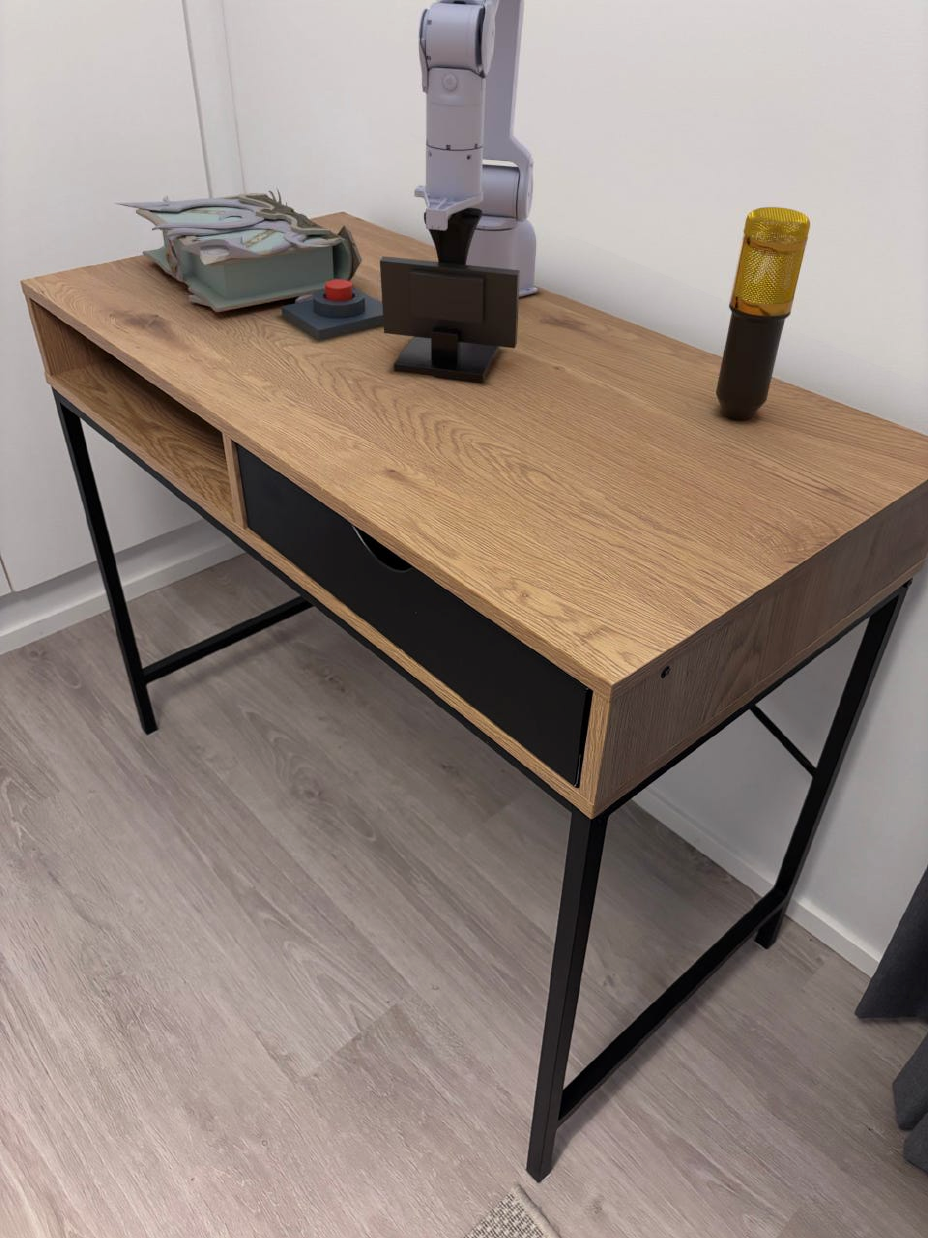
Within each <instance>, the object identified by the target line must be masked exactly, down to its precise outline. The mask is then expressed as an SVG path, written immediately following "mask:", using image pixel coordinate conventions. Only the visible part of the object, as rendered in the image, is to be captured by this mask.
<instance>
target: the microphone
mask: <svg viewBox="0 0 928 1238" xmlns="http://www.w3.org/2000/svg"><path fill="white" fill-rule="evenodd" d="M810 228H811V220H810V218H809V217H808V215H806V214H805V213H803V212H801V211H798V210H796V209H791V208H787V207H779V206H778V207H777V206H764V207H758V208H755V209H753V210H751V211H750V212H749V213H748V214H747V216H746V219H745V224H744V229H743V231H742V236H741V241H740V247H739V252H738V257H737V263H736V267H735V272H734V278H733V282H732V283H733V284H732V288H731V293H730V298H729V303H728V309H729V310H730V311H731V313H730V318H729V324H728V328H727V334H726V339H725V344H724V349H723V353H722V359H721V365H720V370H719V373H718V374H719V375H718V380H717V384H716V391H715V395H716V398H717V400H718V403H719V405H720V408H721V410H722V413H723V415H724V416H725V417H727V418H729V419H731V420H734V421H747V420H749V419H750V418H751V417H753V415H755V413H756V412H758V410H759V409H760V408H761V407H762V406H763V405H764V404H766V402H767V399H768V395H769V391H770V386H771V383H772V378H773V373H774V369H775V365H776V360H777V356H778V351H779V347H780V343H781V340H782V339H781V338H782V335H783V330H784V325H785V321H786V319H787V318H788V317H790V315H791V313H792V309H793V305H794V300H795V294H796V290H797V286H798V280H799V276H800V272H801V269H802V263H803V260H804V256H805V250H806V247H807V244H808V239H809V233H810Z"/></svg>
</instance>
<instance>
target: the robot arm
mask: <svg viewBox="0 0 928 1238" xmlns="http://www.w3.org/2000/svg"><path fill="white" fill-rule="evenodd" d="M524 10H525V0H436V2H432V3H431V5H430V8H429V9H428V8H424V9H423V10H422V11H421V15H420V19H419V26H418V58H419V63H420V71H421V87H422V92H423V93H424V94H425V185H417V186H416V187H415V188H414V190H413V191H414V195H413V197H415V198H421V199H423V200H424V203H425V207H426V208H425V211H424V213H423V220H424V224H425V229H426V230H428V232H429V234H430V236H431V239H432V241H433V245H434V248H435V252H436V257H437V262H444V263H453V264H463V265H473V266H482V267H492V268H502V269H511V270H520V282H519V298H521V297H525V296H529V295H532V294H536V293H538V288H537V287H535V286H534V285H535V272H536V270H535V269H536V258H537V257H536V256H537V236H536V231H535V228H534V227H533V225H532V223H531V222H530V220H528V218H529V217H530V213H531V209H532V202H533V193H534V159H533V156H532V153H531V151H530V150H529V149H528V147H526V146H525V145H523V143H521V142H520V141H519V139H518V138H517V137H516V136H515V134H514V128H515V118H516V117H515V116H516V105H517V92H518V80H519V70H520V58H521V46H522V34H523V22H524V12H525V11H524ZM483 160H486V161H496V162H497V161H499V162H510V163H513V164H515V166H514V165H513V166H512V165H499V164H486V163H483Z"/></svg>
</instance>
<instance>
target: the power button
mask: <svg viewBox="0 0 928 1238" xmlns="http://www.w3.org/2000/svg"><path fill="white" fill-rule="evenodd" d="M352 288H353V283H352V282H351V280H350V281H347V280H342V279H335V280H330V281H327V282H326V283H325V296H326V299H327V300H330V301H347V300H351V299H352Z"/></svg>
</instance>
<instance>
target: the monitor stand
mask: <svg viewBox="0 0 928 1238" xmlns="http://www.w3.org/2000/svg"><path fill="white" fill-rule="evenodd" d="M500 351H501V347H498V346H490V345H481V344H472V343H464V342H461V330H455V329H446V328H437V327H434V329H433V330H432V332H431V339H430V338H421V337H413V336H412V338H411V340H410V341H409V343H408V344H407V345H406V346H405V348H404V349H403V351H402V352H401V353H400V355H399V356H398V357H397V359H396V360H395V362H394V363H393V372H398V373H404V374H413V375H421V376H429V377H430V376H431V377H434V378H437V379H439V378H440V379H447V380H455V381H463V382H471V383H479V384H480V383H481V384H484V382H485V380H486V378H487V376H488V374H489V372H490V370H491V368H492V367H493V365H494V363H495V361H496V358H497V357H498V355H499V353H500Z"/></svg>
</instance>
